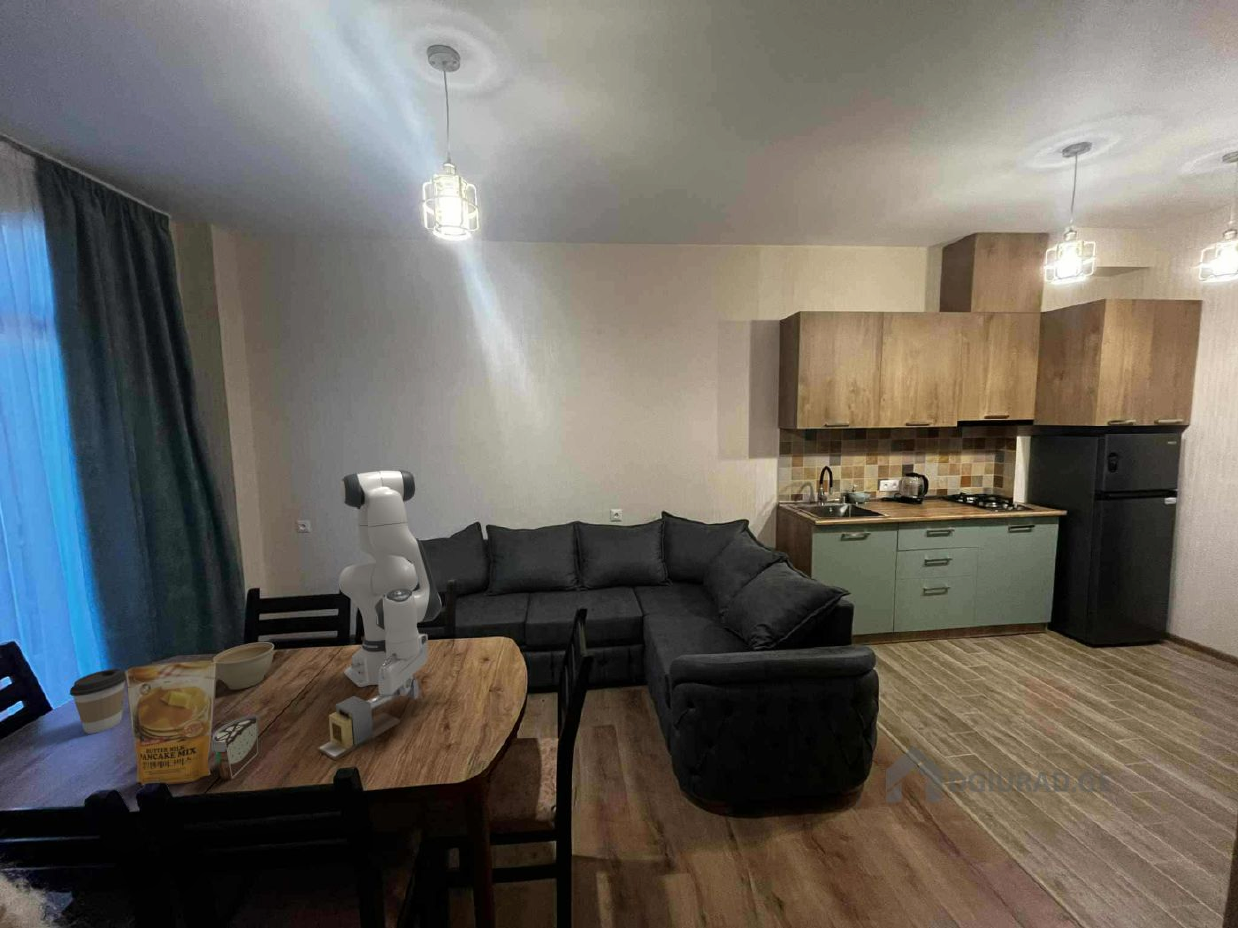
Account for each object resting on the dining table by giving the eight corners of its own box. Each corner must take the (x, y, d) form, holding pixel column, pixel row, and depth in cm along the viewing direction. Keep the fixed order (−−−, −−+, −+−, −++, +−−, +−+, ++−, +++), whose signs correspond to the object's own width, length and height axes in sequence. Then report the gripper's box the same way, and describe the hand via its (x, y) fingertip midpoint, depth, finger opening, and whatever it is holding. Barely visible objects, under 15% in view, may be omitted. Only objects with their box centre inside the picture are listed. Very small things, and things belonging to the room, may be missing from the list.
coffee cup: (140, 718, 142) (135, 669, 141) (87, 741, 132) (82, 689, 131) (117, 712, 146) (112, 664, 145) (64, 734, 135) (59, 683, 134)
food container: (237, 751, 125) (233, 715, 125) (261, 749, 126) (258, 713, 125) (199, 785, 113) (196, 745, 112) (227, 783, 113) (223, 743, 113)
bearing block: (338, 739, 129) (335, 704, 128) (356, 729, 133) (353, 695, 132) (354, 748, 125) (352, 712, 124) (373, 738, 129) (370, 703, 128)
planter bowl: (275, 685, 159) (272, 653, 159) (212, 701, 150) (209, 668, 150) (277, 666, 173) (274, 637, 172) (219, 680, 164) (216, 649, 163)
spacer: (330, 741, 127) (328, 715, 126) (338, 737, 128) (336, 711, 128) (345, 749, 123) (343, 722, 123) (353, 745, 125) (351, 718, 124)
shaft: (344, 720, 130) (343, 701, 130) (402, 690, 145) (401, 672, 145) (361, 729, 126) (359, 708, 126) (418, 696, 141) (417, 678, 141)
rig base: (318, 750, 125) (318, 747, 124) (383, 714, 140) (382, 711, 140) (335, 760, 120) (335, 756, 120) (399, 722, 136) (399, 719, 136)
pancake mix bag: (147, 770, 119) (136, 661, 117) (228, 762, 121) (219, 655, 119) (121, 790, 112) (110, 675, 111) (208, 781, 114) (198, 668, 113)
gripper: (392, 664, 127) (395, 714, 127) (430, 632, 147) (433, 675, 148) (370, 664, 127) (373, 713, 128) (411, 632, 147) (413, 675, 148)
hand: (405, 693), depth 138 cm, fingers closed
